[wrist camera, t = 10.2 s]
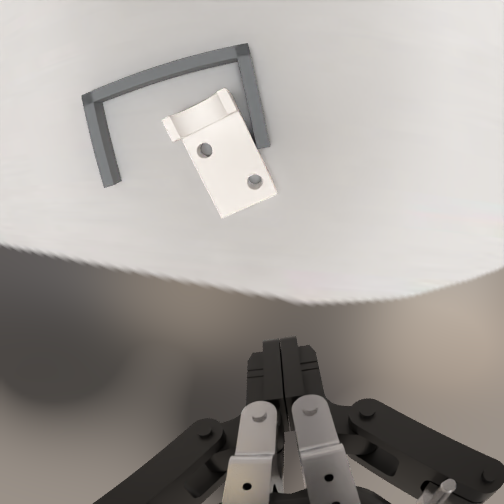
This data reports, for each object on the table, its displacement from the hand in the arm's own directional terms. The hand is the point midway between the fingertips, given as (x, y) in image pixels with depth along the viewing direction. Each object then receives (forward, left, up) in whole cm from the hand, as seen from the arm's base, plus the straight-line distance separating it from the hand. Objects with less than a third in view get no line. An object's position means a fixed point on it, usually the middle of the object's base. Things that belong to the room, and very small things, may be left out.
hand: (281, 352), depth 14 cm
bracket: (-7, -4, -28) cm, 29 cm away
